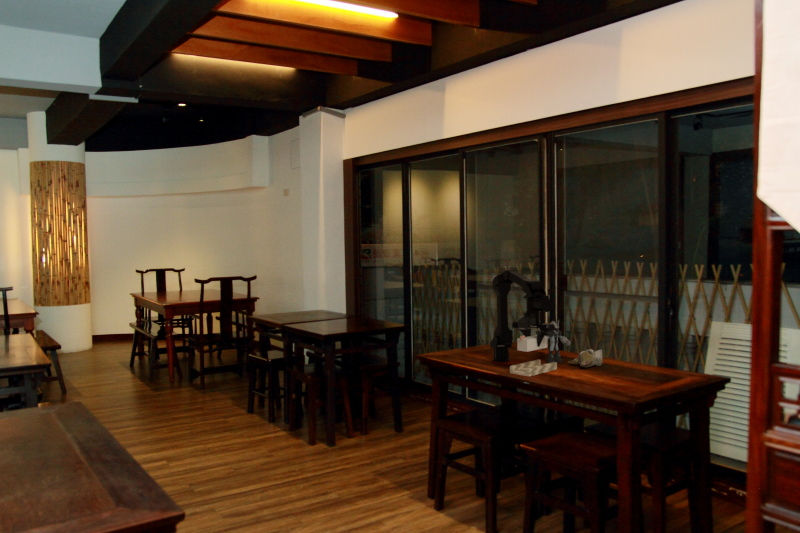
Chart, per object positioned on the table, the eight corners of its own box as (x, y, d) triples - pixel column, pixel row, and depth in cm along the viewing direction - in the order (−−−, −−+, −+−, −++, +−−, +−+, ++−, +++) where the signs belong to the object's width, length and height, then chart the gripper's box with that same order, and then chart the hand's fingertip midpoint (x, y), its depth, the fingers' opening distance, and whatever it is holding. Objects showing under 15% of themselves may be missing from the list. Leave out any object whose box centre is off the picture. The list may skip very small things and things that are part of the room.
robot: (565, 358, 302) (565, 316, 301) (573, 360, 298) (573, 317, 297) (535, 363, 291) (534, 320, 291) (542, 365, 287) (542, 321, 286)
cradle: (529, 376, 265) (529, 369, 265) (509, 373, 272) (509, 366, 272) (556, 369, 278) (556, 362, 278) (537, 366, 286) (537, 359, 286)
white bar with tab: (525, 352, 267) (525, 336, 267) (516, 350, 271) (515, 335, 271) (549, 346, 279) (549, 332, 279) (540, 345, 283) (539, 330, 282)
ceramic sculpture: (609, 347, 280) (580, 352, 275) (610, 367, 281) (581, 372, 276) (593, 344, 290) (566, 348, 285) (595, 362, 291) (567, 367, 286)
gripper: (504, 309, 276) (504, 345, 276) (540, 313, 262) (540, 350, 263) (519, 307, 283) (520, 342, 284) (555, 310, 269) (555, 347, 270)
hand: (533, 345), depth 275 cm, fingers closed on white bar with tab, 5 cm apart
